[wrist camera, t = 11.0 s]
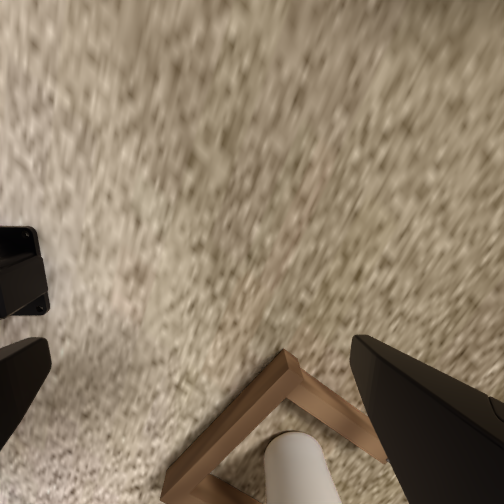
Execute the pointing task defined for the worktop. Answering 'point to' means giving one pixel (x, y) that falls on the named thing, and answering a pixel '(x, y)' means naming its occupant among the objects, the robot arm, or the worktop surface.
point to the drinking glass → (298, 471)
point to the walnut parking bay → (248, 418)
